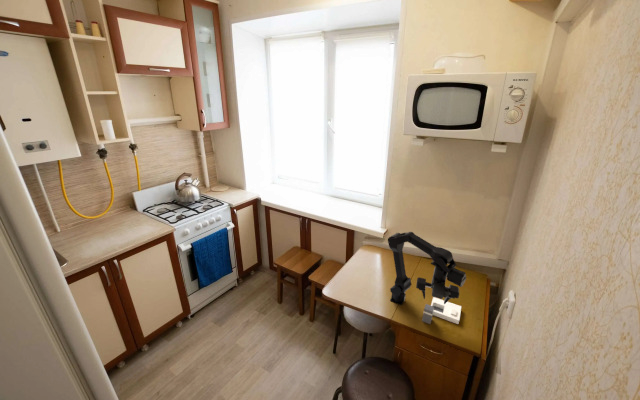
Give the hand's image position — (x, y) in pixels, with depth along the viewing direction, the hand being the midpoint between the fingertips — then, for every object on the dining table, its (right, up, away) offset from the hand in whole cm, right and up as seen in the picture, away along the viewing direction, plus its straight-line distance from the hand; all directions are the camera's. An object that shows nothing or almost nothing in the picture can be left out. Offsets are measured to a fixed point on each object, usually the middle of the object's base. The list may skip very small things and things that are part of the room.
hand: (434, 301), depth 135 cm
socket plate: (+9, -9, +9) cm, 16 cm away
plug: (-2, -11, +4) cm, 12 cm away
